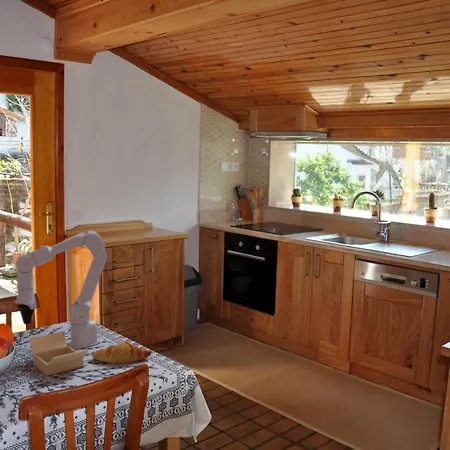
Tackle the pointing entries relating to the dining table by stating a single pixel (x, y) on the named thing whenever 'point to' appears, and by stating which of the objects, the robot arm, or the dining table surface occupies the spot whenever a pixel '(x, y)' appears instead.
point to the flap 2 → (67, 357)
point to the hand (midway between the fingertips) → (27, 323)
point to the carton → (45, 357)
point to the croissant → (121, 353)
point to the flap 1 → (47, 342)
